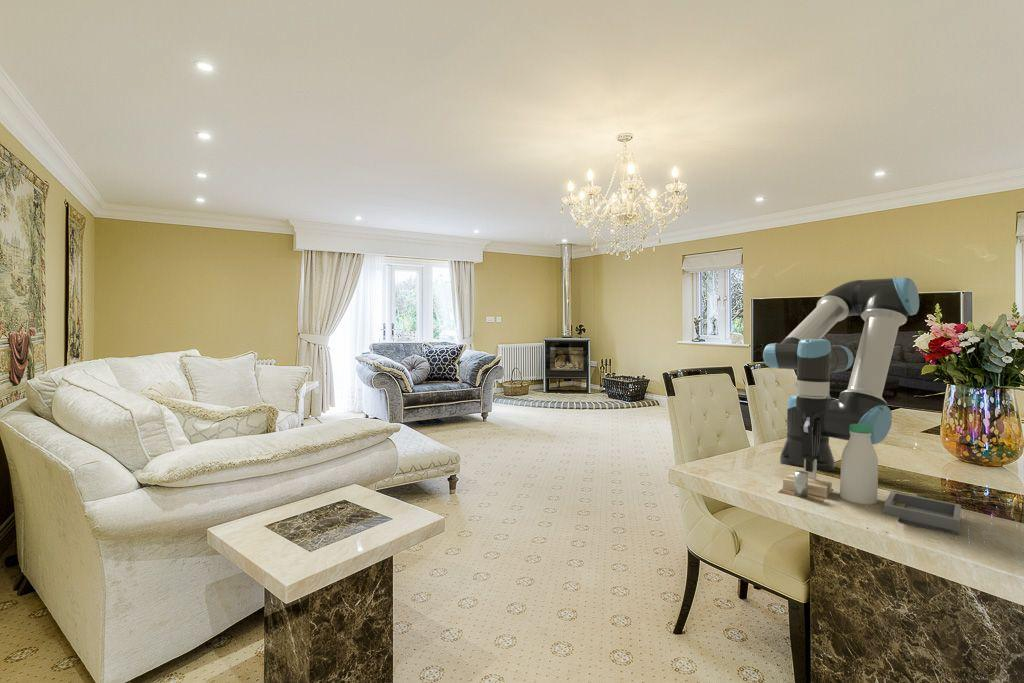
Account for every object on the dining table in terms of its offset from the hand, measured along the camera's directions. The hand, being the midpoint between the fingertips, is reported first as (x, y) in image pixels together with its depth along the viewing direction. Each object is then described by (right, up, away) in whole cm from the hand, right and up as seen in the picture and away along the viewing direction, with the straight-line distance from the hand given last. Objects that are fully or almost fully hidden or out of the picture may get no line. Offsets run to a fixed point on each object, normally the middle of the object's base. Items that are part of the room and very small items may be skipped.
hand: (809, 482), depth 132 cm
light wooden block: (-2, -1, -3) cm, 4 cm away
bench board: (-3, -3, -3) cm, 5 cm away
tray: (+15, -3, -18) cm, 24 cm away
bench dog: (-7, -1, -7) cm, 10 cm away
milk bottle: (+7, -3, -9) cm, 11 cm away
